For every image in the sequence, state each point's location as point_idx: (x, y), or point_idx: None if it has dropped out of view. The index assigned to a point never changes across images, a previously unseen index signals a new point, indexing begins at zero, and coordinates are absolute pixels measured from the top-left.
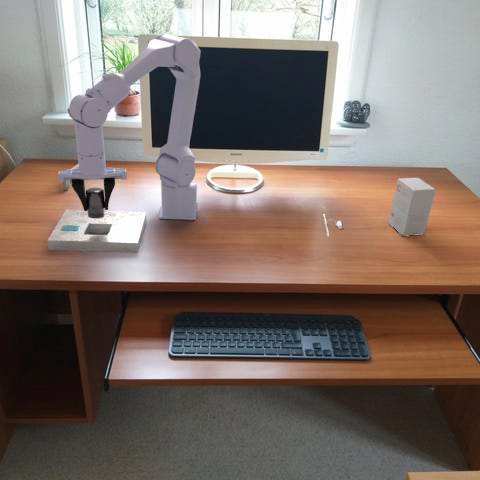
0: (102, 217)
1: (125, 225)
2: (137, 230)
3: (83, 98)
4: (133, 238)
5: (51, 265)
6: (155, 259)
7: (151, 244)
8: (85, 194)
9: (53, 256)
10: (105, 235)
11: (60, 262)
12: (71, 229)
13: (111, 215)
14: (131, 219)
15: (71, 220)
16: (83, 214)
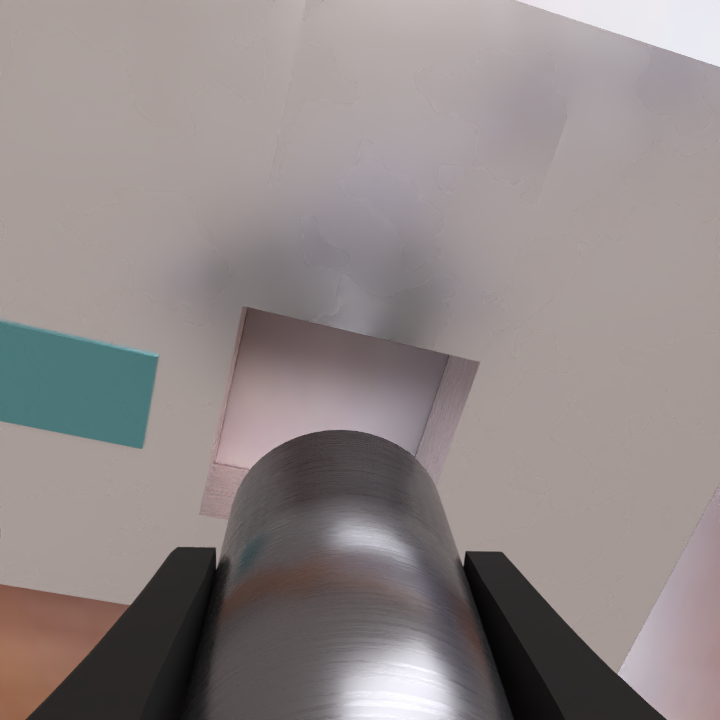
0: (396, 184)
1: (596, 409)
2: (672, 515)
3: None
4: (601, 624)
5: (17, 683)
6: (659, 699)
7: (700, 538)
8: (155, 682)
9: (4, 591)
10: None
11: (69, 661)
12: (74, 417)
13: (503, 149)
14: (689, 293)
15: (40, 200)
16: (168, 51)
